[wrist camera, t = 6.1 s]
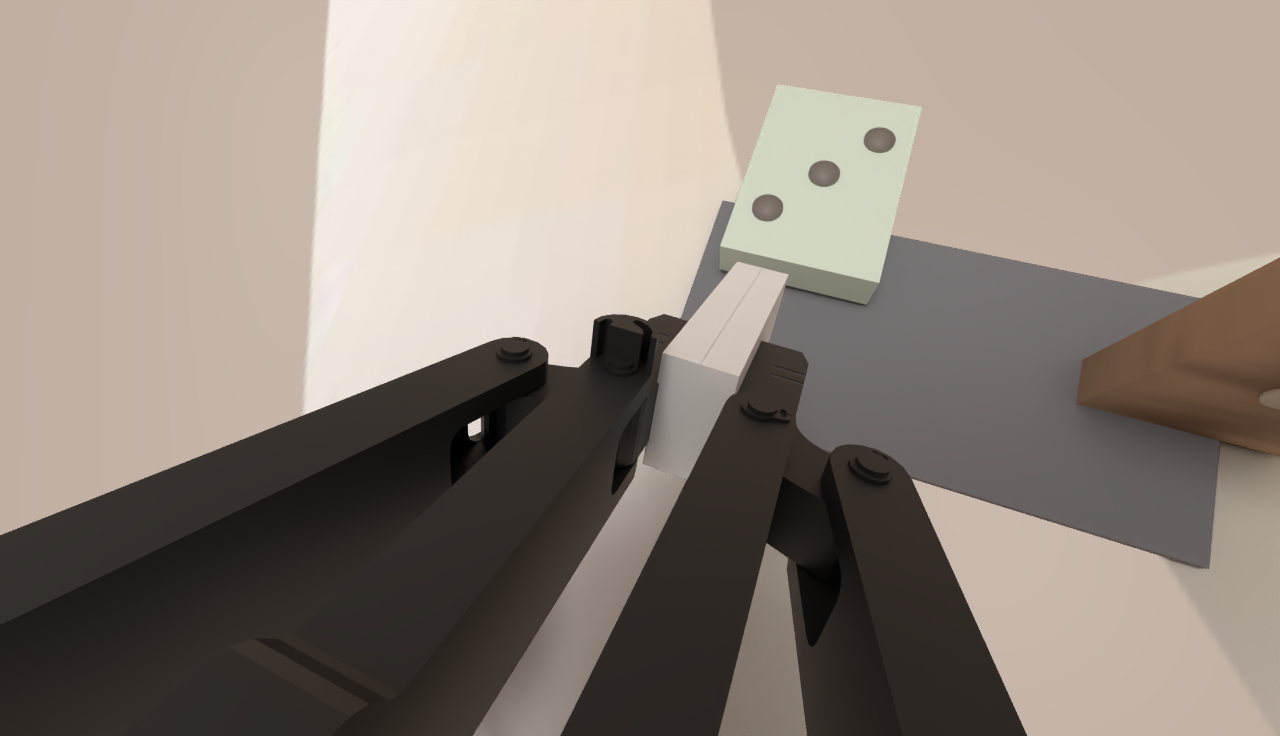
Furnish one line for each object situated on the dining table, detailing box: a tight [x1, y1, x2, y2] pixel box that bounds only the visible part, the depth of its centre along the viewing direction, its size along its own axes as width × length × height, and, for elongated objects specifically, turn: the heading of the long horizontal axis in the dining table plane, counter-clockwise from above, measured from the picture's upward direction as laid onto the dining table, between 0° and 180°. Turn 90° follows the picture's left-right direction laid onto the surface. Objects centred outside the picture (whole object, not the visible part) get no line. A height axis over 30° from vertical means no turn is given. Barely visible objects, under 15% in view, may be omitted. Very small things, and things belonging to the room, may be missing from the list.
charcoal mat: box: [681, 201, 1220, 569], centre depth 24 cm, size 22×11×1 cm, turn 70°
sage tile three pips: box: [720, 85, 922, 305], centre depth 26 cm, size 7×2×10 cm
